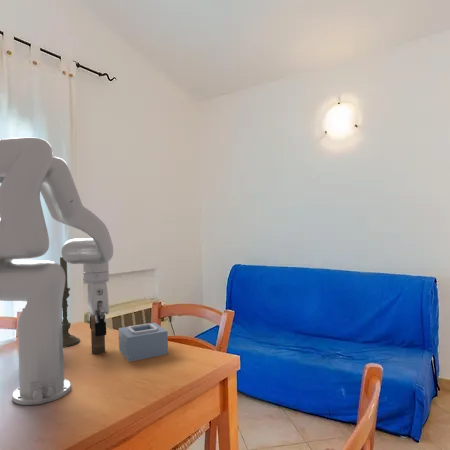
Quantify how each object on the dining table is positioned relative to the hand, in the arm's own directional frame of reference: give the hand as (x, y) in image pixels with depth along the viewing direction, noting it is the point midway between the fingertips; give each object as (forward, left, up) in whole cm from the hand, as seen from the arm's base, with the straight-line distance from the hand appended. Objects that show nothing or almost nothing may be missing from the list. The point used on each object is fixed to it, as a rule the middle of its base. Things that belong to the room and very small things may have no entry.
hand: (97, 331), depth 120 cm
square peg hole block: (-8, -12, -6) cm, 16 cm away
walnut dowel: (0, 0, -6) cm, 6 cm away
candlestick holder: (+16, +8, -7) cm, 19 cm away
